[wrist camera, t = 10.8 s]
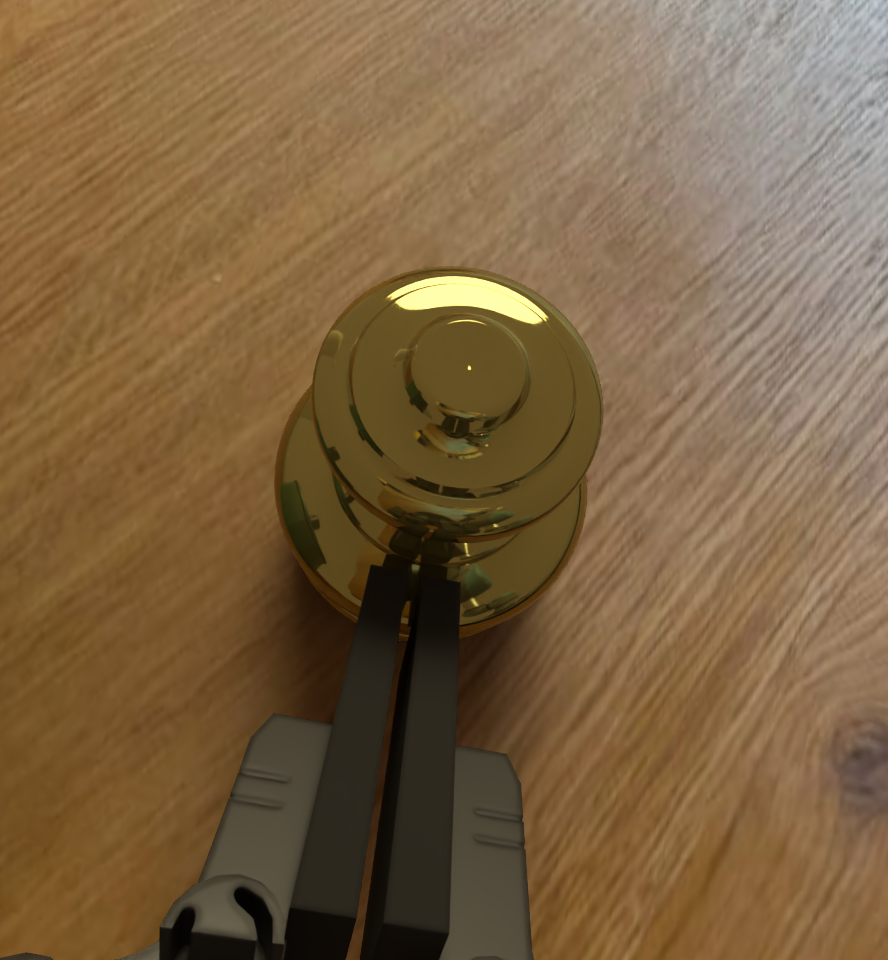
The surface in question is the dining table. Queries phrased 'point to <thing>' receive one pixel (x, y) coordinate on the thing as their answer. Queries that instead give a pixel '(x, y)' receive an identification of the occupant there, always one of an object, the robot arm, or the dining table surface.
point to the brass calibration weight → (442, 445)
